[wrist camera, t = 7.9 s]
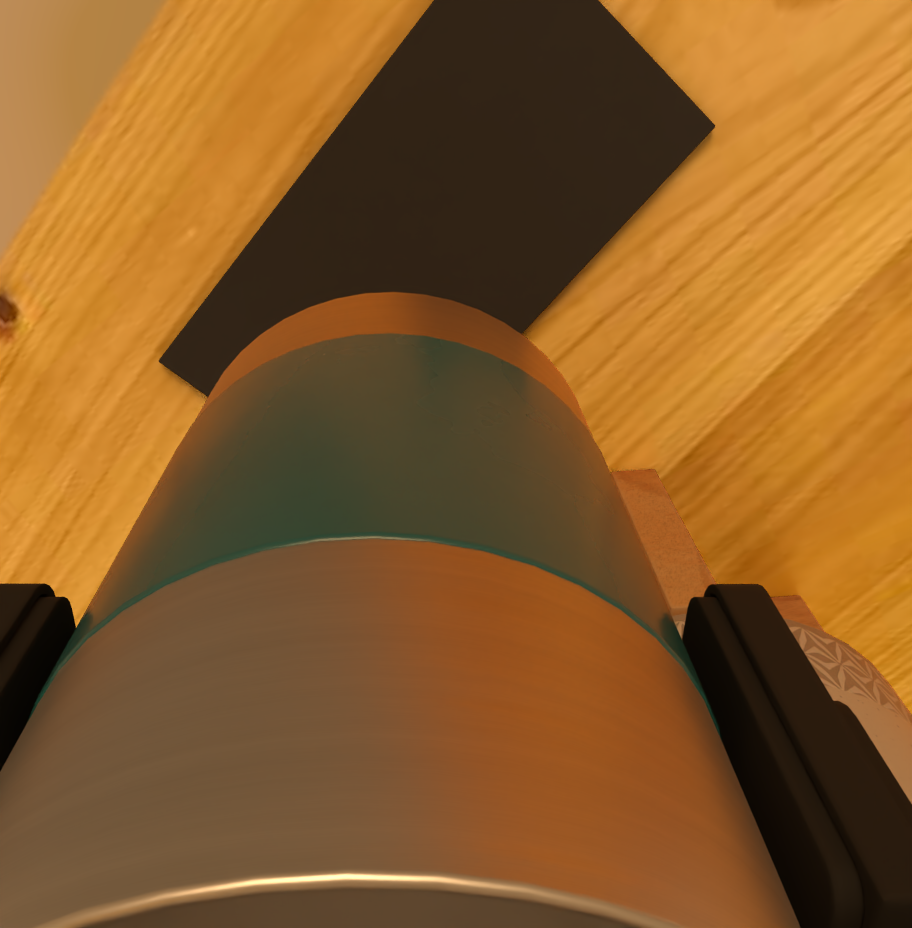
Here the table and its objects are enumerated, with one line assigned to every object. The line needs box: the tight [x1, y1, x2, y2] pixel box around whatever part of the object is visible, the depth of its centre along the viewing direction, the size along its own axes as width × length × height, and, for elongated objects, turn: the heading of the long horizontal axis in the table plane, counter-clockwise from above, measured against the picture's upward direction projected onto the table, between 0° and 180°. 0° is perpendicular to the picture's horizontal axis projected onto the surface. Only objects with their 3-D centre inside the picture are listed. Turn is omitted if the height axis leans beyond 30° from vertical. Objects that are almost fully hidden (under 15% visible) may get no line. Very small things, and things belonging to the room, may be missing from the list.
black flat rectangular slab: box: [159, 0, 715, 397], centre depth 26 cm, size 16×8×1 cm, turn 139°
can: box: [0, 292, 801, 928], centre depth 10 cm, size 7×7×10 cm
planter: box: [611, 469, 912, 804], centre depth 25 cm, size 13×13×18 cm
